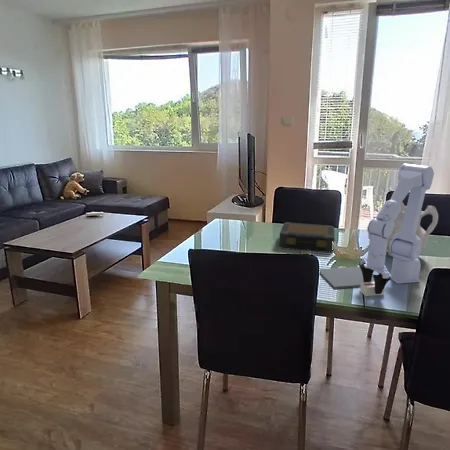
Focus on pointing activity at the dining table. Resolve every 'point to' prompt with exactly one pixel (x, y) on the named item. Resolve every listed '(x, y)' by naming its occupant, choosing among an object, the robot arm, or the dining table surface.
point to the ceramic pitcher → (419, 231)
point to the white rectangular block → (369, 289)
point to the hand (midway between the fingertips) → (372, 288)
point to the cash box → (307, 237)
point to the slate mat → (343, 277)
